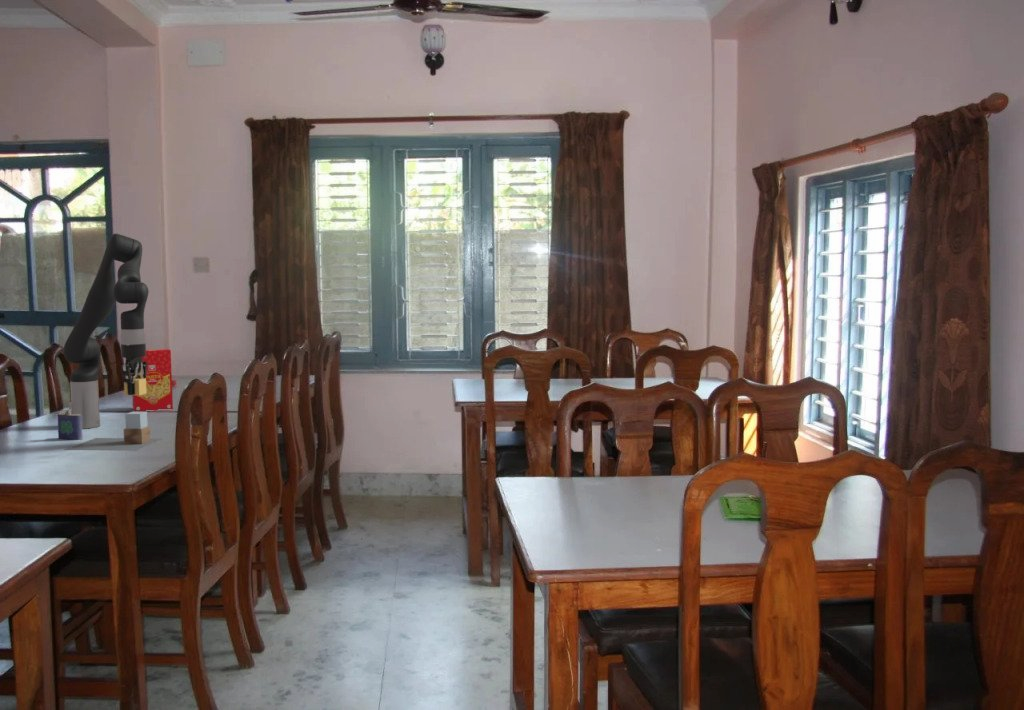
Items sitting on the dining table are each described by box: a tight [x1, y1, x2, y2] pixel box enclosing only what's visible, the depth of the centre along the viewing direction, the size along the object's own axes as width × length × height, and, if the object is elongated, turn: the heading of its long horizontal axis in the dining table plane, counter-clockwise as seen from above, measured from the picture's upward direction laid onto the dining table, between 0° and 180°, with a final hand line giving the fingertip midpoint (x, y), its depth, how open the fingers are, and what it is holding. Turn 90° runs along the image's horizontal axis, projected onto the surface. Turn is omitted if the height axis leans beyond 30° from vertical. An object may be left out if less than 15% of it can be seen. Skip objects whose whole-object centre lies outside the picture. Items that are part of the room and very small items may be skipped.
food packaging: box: [131, 348, 174, 412], centre depth 361 cm, size 15×5×25 cm, turn 120°
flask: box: [57, 408, 83, 441], centre depth 298 cm, size 9×3×11 cm, turn 74°
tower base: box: [123, 425, 151, 444], centre depth 292 cm, size 6×6×5 cm
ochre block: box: [123, 378, 146, 396], centre depth 290 cm, size 5×5×5 cm
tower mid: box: [124, 411, 149, 429], centre depth 291 cm, size 5×5×5 cm
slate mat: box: [63, 437, 163, 452], centre depth 289 cm, size 24×20×1 cm
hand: (135, 393), depth 290 cm, fingers closed on ochre block, 5 cm apart
